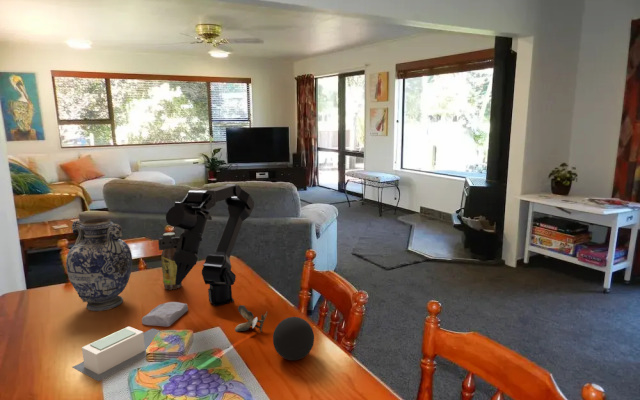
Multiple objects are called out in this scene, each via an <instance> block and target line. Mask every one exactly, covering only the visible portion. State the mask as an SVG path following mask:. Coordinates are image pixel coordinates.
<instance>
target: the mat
mask: <svg viewBox="0 0 640 400" xmlns="http://www.w3.org/2000/svg"><path fill="white" fill-rule="evenodd" d="M160 331H161V330H159V329H156V328H153V327H152V328H151V329H148V330H146V331H145V332H144V331H143V334H144V344H145V351H143V352H141V353H139V354H137V355H135V356H133V357H131V358H129V359H128V360H126V361H124V362H122V363H120V364H118V365H116V366H114V367H112V368H110V369H108V370H106V371H105V372H103V373H101V374H97V373H95V372H93V371H91V370H89V369H87V368H85V367H84V361H82V362H80V363H78V364H76V365H74V366H72V368H73V369H75V370H77V371H78V372H80V373H82V374H84V375H86V376H88V377H90V378H91V379H93V380H95V381H97V382H100V381H102V380H104V379H106V378H108V377H110V376H112V375H113V374H115V373H117V372H119V371H121V370H123V369H125V368H126V367H128V366H130V365H133V364H134V363H135V362H138V361H140V360H141V359H143V358H145V357H147V356H146V349H147V347H148V346H149V345H150V343H151V342H152V340H153V338H154V337H155V335H156V334H157V333H158V332H160Z"/></svg>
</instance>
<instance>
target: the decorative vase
mask: <svg viewBox="0 0 640 400" xmlns="http://www.w3.org/2000/svg"><path fill="white" fill-rule="evenodd" d="M71 230H72V233H73V235H74V236H76V237H77V238H76V239H75V243H74V245H73V246H72V247H70V249H69V250H68V252H67V254H66V260H65V266H66V267H65V268H66V273H67V276H68V279H69V282H70V284H71V285H72V287H73V288H74V290H75V291H76V293H77V295H78V297H79V298H80V299H81V300H82V303H86V305H85V307H86V309H87V310H88V311H93V312H103V311H107V310H111V309H114V308H117V307H118V306H120V305H122V304H123V302H124V298H123V297H122V296H121V295H120V294H121V293H123V292H124V290H125V288H126V287H127V286H128V283H129V280H130V278H131V273H132V269H133V257H132V256H133V255H132V251H131V248H130V246H129V244H128V243H126V242H127V241H124V240H123V239H121V238H122V237H123V227H122V226H121V225H120V224H118V223H114V222H113V221H111V219H109V218H104V217H103V218H91V219H87V220H83V221H81V220H76V221H75V220H74V221H73V222H72V224H71Z"/></svg>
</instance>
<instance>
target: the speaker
mask: <svg viewBox="0 0 640 400" xmlns="http://www.w3.org/2000/svg"><path fill="white" fill-rule="evenodd" d="M274 328H275V329H274V331H273V336H272V344H273V348H274V349H275V351H276V353H277V354H278V355H279V356H280V357H282V358H283V359H286V360H288V361H299V360H301V359H303V358H304V357H307V355H309V353H310V352H311V351H312V349H313V347H314V344H315V333H314V331H313V327H312V326H311V325H310V324H309V322H308V321H307V320H305V319H303V318H301V317H299V316H290V317H287V318H284V319H283V320H281V321H280V322H279V323H278V324H277V326H276V327H274Z"/></svg>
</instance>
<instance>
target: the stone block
mask: <svg viewBox="0 0 640 400" xmlns="http://www.w3.org/2000/svg"><path fill="white" fill-rule="evenodd" d="M188 311H189V307H188V304H187V303H183V302H179V301H168V302H164V303H161V304H158V305H157V306H156V307H154V308H153V309H151V311H149V313H147V314H146V315H144V316H143V317H142V318H141V323H142V324H143V325H144V326H145V325H146V326H159V327H171V325H173V324H174V323H175V322H176V321H177V320H179V319H180V318H181V317H182V316H183V315H185V314H186V313H187V312H188Z"/></svg>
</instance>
